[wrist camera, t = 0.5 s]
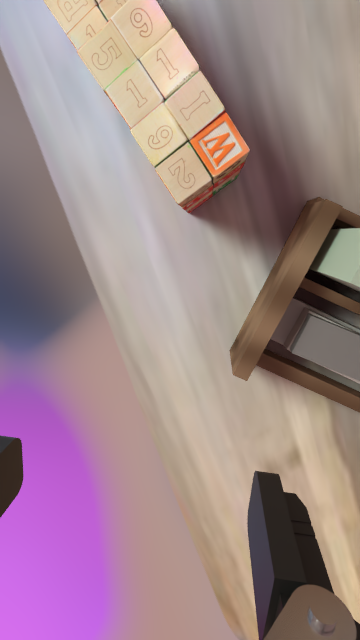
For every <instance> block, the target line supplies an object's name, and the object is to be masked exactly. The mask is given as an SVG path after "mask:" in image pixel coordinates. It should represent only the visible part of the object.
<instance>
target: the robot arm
mask: <svg viewBox="0 0 360 640" xmlns="http://www.w3.org/2000/svg"><path fill="white" fill-rule="evenodd" d="M22 481H23V461H22V443H21V440H20V439H19V438H13V437H6V436H0V517H1V516H2V515H3V513H4V512H5V511H6V509H7V508H8V507H9V505H10V504H11V503H12V501H13V500H14V499H15V497H16V496H17V494H18V493H19V490H20V488H21V485H22ZM248 537H249V547H250V557H251V566H252V576H253V586H254V595H255V605H256V615H257V624H258V634H259V640H360V624H359V623H358V622H356V621H355V620H354V619H353V617H352V615H351V613H350V611H349V610H348V608H347V607H346V606H345V604H344V603H343V602H342V601H341V600H340V599H339V598H338V597H337V596H336V595H335V594H334V592H333V589H332V586H331V583H330V580H329V577H328V574H327V570H326V567H325V564H324V561H323V558H322V555H321V552H320V549H319V546H318V542H317V539H315V533H314V530H313V527H312V526H311V521H310V518H309V515H308V511H307V508H306V507H305V505H304V504H303V503H302V502H301V500H300V499H299V498H298V496H297V495H296V494H294V493H287V492H283V488H282V484H281V480H280V476H279V474H274V473H267V472H259V471H255V473H254V477H253V483H252V490H251V496H250V502H249V509H248Z"/></svg>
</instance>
